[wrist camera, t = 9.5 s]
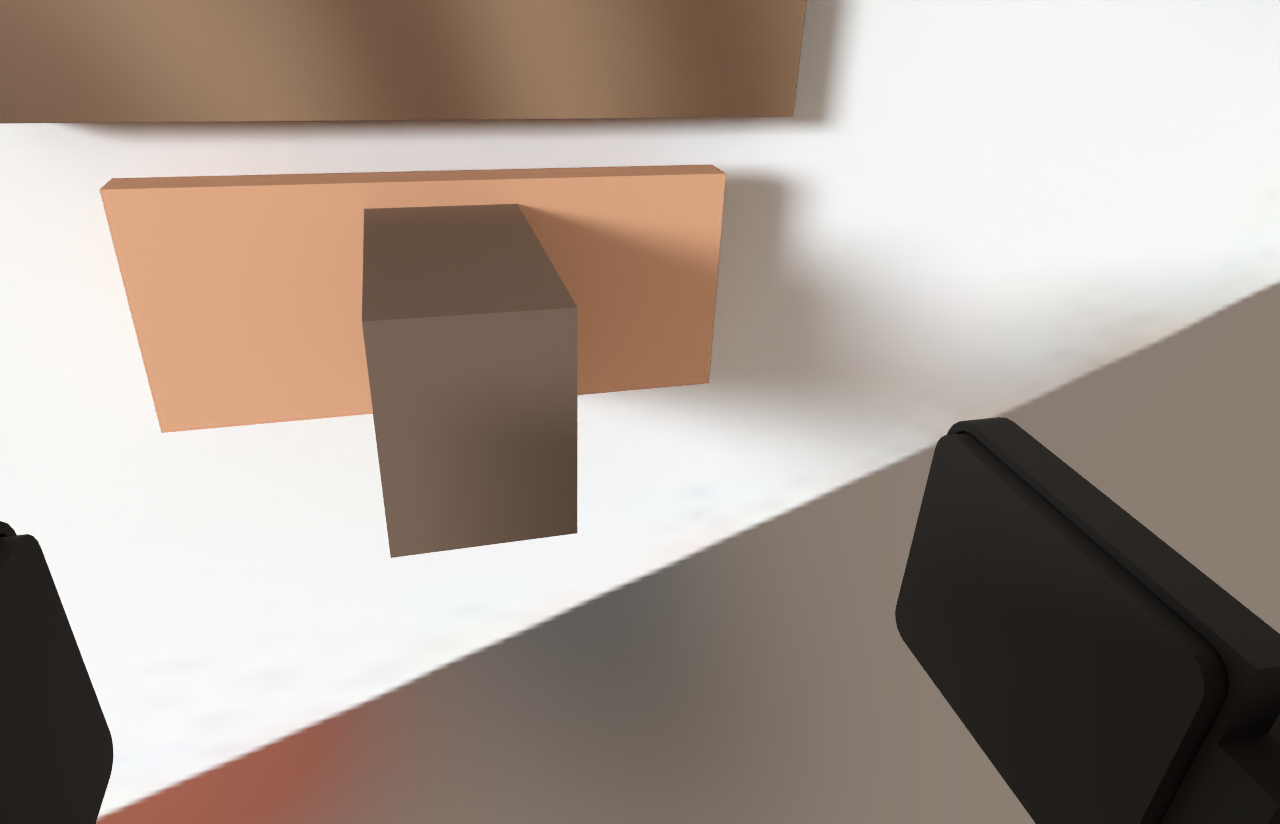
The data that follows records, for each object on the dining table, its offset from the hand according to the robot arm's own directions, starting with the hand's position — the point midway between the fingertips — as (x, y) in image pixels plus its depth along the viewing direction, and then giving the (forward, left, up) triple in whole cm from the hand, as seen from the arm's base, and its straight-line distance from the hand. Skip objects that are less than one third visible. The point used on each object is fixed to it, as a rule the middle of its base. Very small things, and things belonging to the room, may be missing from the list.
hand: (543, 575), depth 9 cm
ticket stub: (0, +1, -11) cm, 11 cm away
